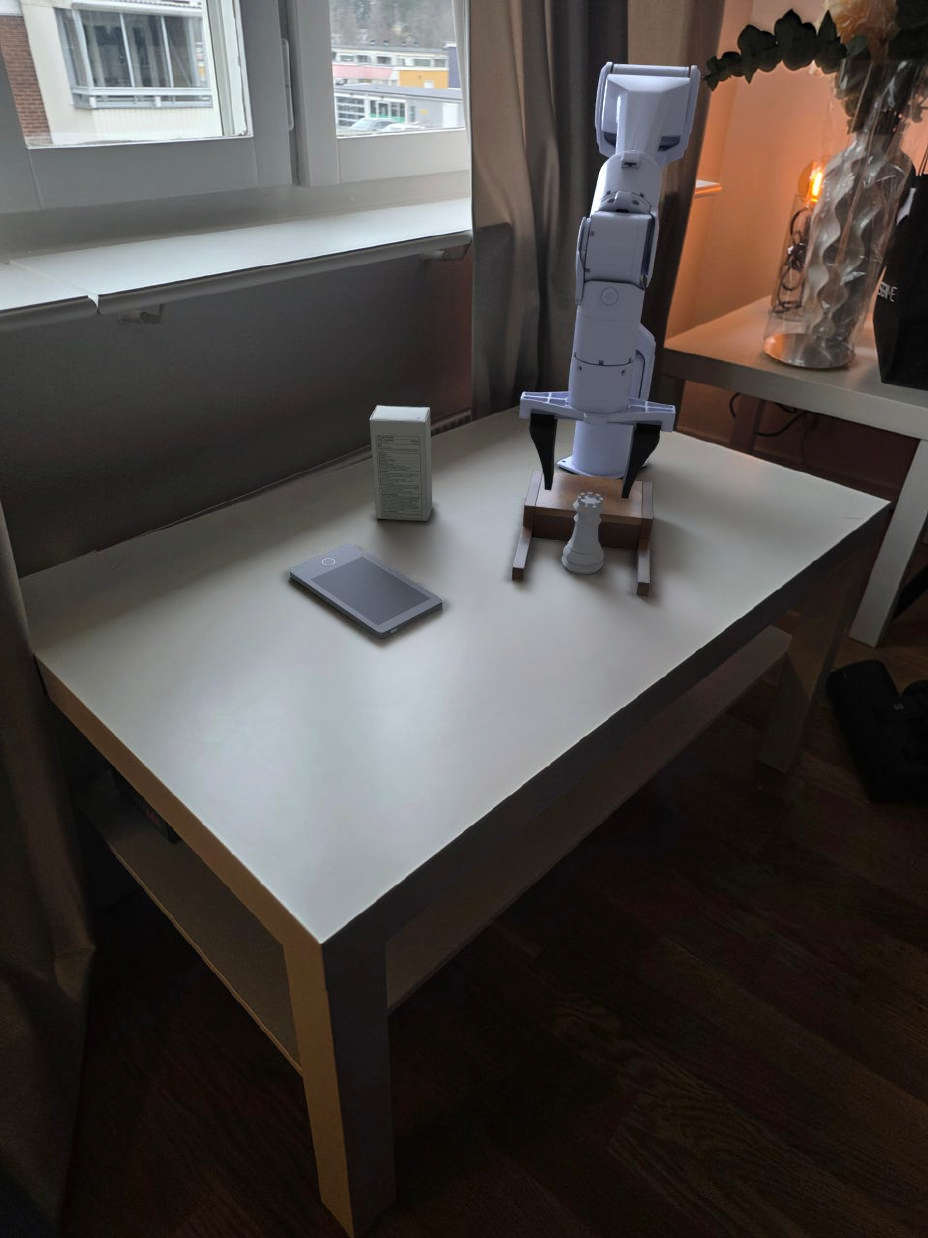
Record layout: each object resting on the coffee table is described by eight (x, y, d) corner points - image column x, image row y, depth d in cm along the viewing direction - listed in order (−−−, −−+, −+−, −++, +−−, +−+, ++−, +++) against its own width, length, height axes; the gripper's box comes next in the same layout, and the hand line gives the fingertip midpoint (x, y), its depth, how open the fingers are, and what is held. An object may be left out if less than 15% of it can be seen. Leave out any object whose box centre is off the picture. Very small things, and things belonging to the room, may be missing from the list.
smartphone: (446, 606, 82) (446, 600, 82) (381, 640, 78) (381, 634, 77) (351, 547, 91) (350, 542, 90) (287, 575, 86) (287, 569, 86)
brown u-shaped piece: (647, 595, 85) (654, 561, 83) (511, 579, 87) (513, 546, 85) (647, 512, 100) (652, 482, 97) (530, 500, 101) (533, 470, 99)
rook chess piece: (575, 579, 87) (584, 511, 83) (552, 559, 90) (559, 492, 86) (611, 570, 89) (621, 502, 84) (587, 550, 92) (595, 484, 87)
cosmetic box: (433, 505, 100) (433, 406, 93) (428, 522, 96) (428, 421, 89) (379, 501, 100) (376, 402, 93) (372, 518, 97) (368, 417, 89)
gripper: (519, 362, 74) (510, 500, 82) (685, 377, 73) (659, 516, 80) (528, 339, 80) (519, 469, 88) (682, 352, 78) (659, 484, 86)
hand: (586, 489), depth 85 cm, fingers open, 7 cm apart
